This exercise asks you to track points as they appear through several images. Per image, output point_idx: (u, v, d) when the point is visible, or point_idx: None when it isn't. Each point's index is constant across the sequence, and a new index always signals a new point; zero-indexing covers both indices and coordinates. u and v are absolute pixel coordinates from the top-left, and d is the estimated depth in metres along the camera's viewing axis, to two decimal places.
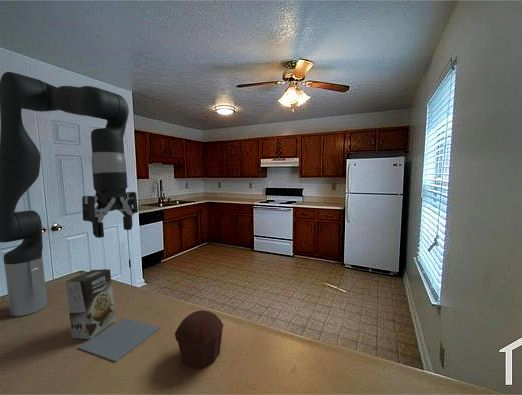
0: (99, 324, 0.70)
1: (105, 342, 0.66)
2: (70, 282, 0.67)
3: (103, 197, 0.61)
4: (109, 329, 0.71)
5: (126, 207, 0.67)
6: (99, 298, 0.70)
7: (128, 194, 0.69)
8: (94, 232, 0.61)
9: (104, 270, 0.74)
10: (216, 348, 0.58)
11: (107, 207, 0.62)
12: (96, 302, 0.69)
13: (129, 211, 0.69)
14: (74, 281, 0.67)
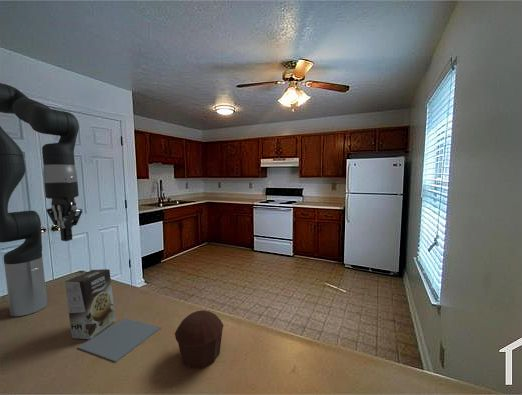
0: (99, 324, 0.70)
1: (105, 342, 0.66)
2: (69, 282, 0.67)
3: None
4: (109, 329, 0.71)
5: None
6: (99, 298, 0.70)
7: None
8: (68, 236, 0.72)
9: (103, 270, 0.74)
10: (216, 348, 0.58)
11: None
12: (96, 302, 0.69)
13: None
14: (73, 281, 0.67)
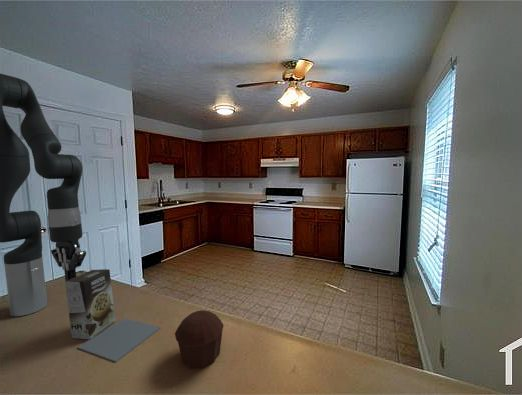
0: (99, 324, 0.70)
1: (105, 342, 0.66)
2: (69, 282, 0.67)
3: None
4: (109, 329, 0.71)
5: None
6: (99, 298, 0.70)
7: None
8: (72, 277, 0.73)
9: (103, 270, 0.74)
10: (216, 348, 0.58)
11: None
12: (96, 302, 0.69)
13: None
14: (73, 281, 0.67)
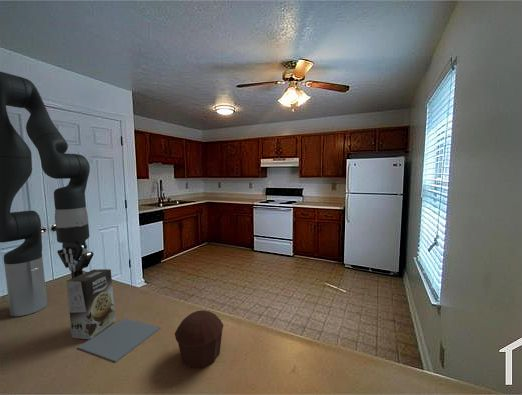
0: (99, 324, 0.70)
1: (105, 342, 0.66)
2: (71, 282, 0.67)
3: None
4: (109, 329, 0.71)
5: None
6: (100, 298, 0.70)
7: None
8: None
9: (104, 270, 0.74)
10: (216, 348, 0.58)
11: None
12: (97, 302, 0.69)
13: None
14: (75, 281, 0.67)
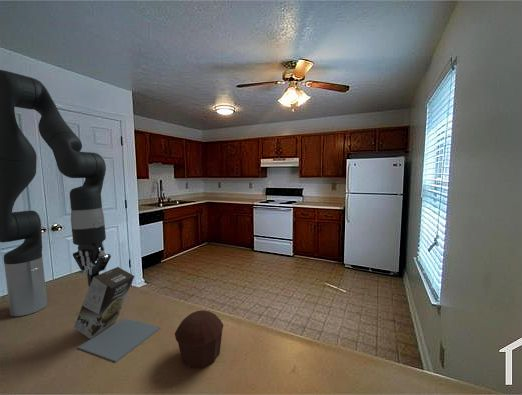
0: (103, 326, 0.70)
1: (105, 342, 0.66)
2: (97, 281, 0.66)
3: None
4: (109, 329, 0.71)
5: None
6: (114, 303, 0.70)
7: None
8: None
9: (129, 275, 0.73)
10: (216, 348, 0.58)
11: None
12: (111, 306, 0.69)
13: None
14: (101, 282, 0.66)
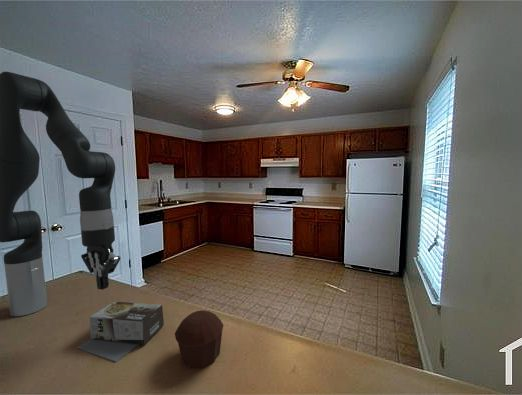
0: None
1: (105, 342, 0.66)
2: (141, 328, 0.64)
3: None
4: None
5: None
6: None
7: None
8: (104, 284, 0.68)
9: (161, 322, 0.71)
10: (216, 348, 0.58)
11: None
12: None
13: None
14: (143, 332, 0.64)
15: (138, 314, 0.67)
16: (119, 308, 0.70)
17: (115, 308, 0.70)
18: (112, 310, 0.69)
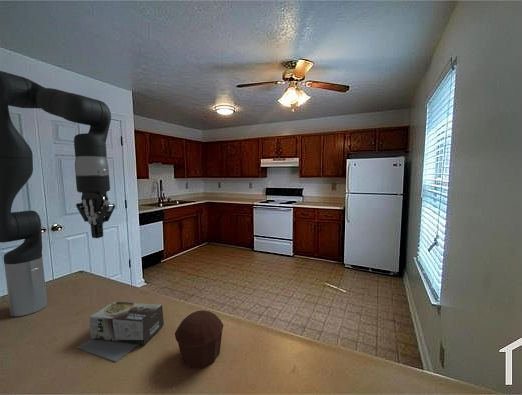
0: None
1: (105, 342, 0.66)
2: (141, 328, 0.64)
3: None
4: None
5: None
6: None
7: None
8: (99, 233, 0.68)
9: (161, 322, 0.71)
10: (216, 348, 0.58)
11: None
12: None
13: None
14: (143, 332, 0.64)
15: (138, 314, 0.67)
16: (119, 308, 0.70)
17: (115, 308, 0.70)
18: (112, 310, 0.69)
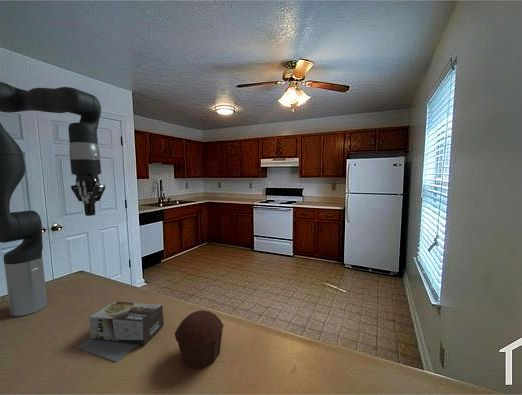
0: None
1: (105, 342, 0.66)
2: (141, 328, 0.64)
3: None
4: None
5: None
6: None
7: None
8: (91, 211, 0.76)
9: (161, 322, 0.71)
10: (216, 348, 0.58)
11: None
12: None
13: None
14: (143, 332, 0.64)
15: (138, 314, 0.67)
16: (119, 308, 0.70)
17: (115, 308, 0.70)
18: (112, 310, 0.69)
